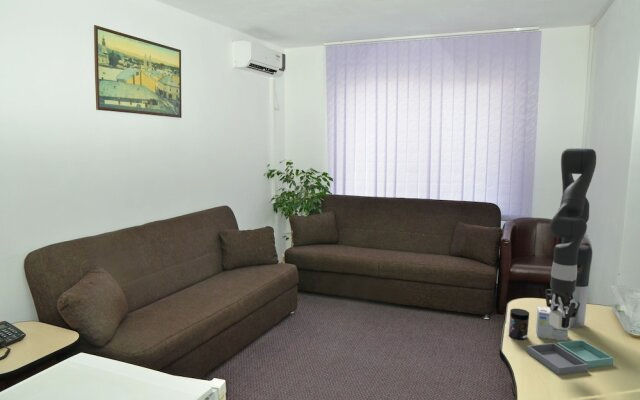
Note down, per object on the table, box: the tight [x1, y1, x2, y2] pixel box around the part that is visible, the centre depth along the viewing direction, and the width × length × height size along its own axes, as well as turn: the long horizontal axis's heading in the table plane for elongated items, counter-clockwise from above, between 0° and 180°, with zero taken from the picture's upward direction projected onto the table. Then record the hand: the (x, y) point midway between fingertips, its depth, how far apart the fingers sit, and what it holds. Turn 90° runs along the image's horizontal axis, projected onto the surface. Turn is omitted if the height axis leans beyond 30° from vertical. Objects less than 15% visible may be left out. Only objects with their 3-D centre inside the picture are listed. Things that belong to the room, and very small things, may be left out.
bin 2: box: [555, 339, 615, 369], centre depth 164 cm, size 14×11×3 cm
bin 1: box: [526, 342, 589, 376], centre depth 161 cm, size 16×11×3 cm
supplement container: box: [508, 308, 530, 341], centre depth 179 cm, size 7×7×10 cm
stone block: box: [549, 310, 571, 329], centre depth 158 cm, size 4×4×4 cm
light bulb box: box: [535, 305, 569, 342], centre depth 180 cm, size 11×7×11 cm, turn 71°
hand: (559, 324), depth 159 cm, fingers closed on stone block, 4 cm apart
